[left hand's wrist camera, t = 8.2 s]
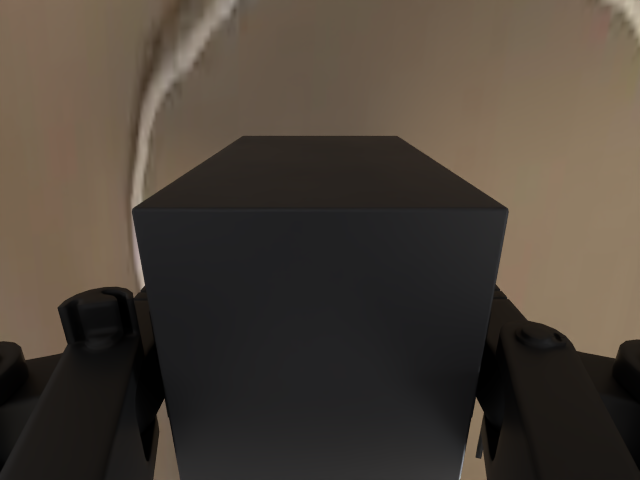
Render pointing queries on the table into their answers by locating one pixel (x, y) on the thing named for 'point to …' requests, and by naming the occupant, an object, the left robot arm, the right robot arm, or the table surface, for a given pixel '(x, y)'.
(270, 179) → the bar
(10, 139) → the table surface
